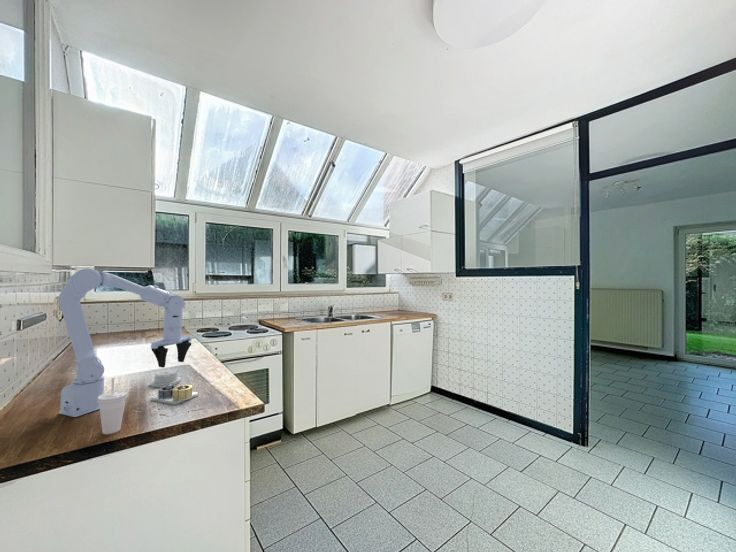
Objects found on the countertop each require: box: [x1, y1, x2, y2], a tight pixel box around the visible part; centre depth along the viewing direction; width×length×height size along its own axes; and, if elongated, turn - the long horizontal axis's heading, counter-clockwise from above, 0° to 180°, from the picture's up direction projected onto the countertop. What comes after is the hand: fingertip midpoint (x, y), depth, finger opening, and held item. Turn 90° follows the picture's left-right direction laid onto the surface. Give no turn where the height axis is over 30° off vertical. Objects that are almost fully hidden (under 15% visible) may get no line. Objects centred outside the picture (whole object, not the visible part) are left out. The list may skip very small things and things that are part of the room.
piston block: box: [150, 384, 199, 406], centre depth 105 cm, size 9×12×4 cm
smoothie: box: [97, 377, 129, 435], centre depth 82 cm, size 6×6×14 cm
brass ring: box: [173, 384, 194, 400], centre depth 104 cm, size 6×6×3 cm
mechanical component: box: [150, 369, 182, 388], centre depth 120 cm, size 10×4×10 cm
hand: (171, 364), depth 111 cm, fingers open, 7 cm apart
